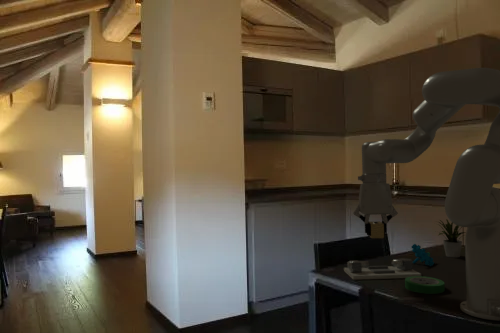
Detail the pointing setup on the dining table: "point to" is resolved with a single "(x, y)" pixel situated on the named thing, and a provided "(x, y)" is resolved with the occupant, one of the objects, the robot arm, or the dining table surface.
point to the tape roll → (424, 285)
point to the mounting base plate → (381, 273)
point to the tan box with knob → (376, 229)
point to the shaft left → (357, 265)
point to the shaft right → (402, 264)
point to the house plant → (451, 240)
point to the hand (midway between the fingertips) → (375, 234)
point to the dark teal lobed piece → (422, 255)
